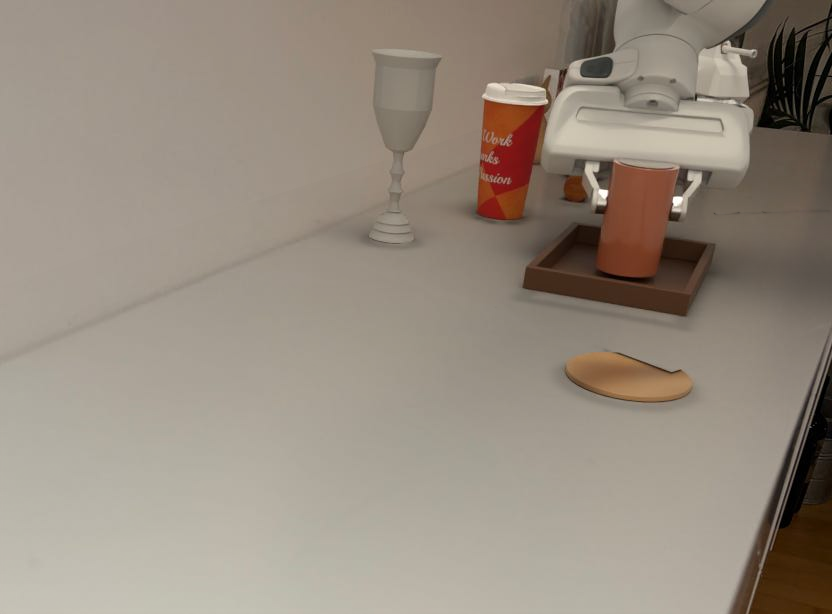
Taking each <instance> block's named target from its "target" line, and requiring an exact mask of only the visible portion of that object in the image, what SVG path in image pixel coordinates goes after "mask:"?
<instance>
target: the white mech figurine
mask: <svg viewBox="0 0 832 614" xmlns="http://www.w3.org/2000/svg"><path fill="white" fill-rule="evenodd" d="M757 55H758V50H757V49H745V48H739V47H734V46H732V43H731V41H730V40H728V41H726V42H724V43H722V44H720V45H718V46H716V47H713V48H710V49H706V48H704V49H703V50H702V51H701V52H700V53H699V57H698V59H699V65H698V75H697V84H696V92H695V94H696V95H708V96H714V97H719V98H728V97H732V98H737V99H740V100H741V103H743V104H744V103H745V101H746V100H747V99H748V98H750V87H749V79H748V66H746V65H745V64H743V63H742V60H741V56H745V57H749V58H750V59H755V58H756V57H757Z"/></svg>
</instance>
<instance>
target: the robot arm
mask: <svg viewBox="0 0 832 614" xmlns="http://www.w3.org/2000/svg"><path fill="white" fill-rule="evenodd" d="M776 2H777V0H617V3H616V8H615V15H614V23H613V38H614V42H615V45H614V46H615V47H614V49H613V51H612V52H610V53H606V54H602V55H599V56H598V55H597V56H593V57H588V58H582V59H578V60H574V61H572V62H571V63H570V64H569V66H568V69H567V71H566V74H565V77H564V81H563V85H562V90H560V92H559V93H558V95H557V96H556V98H555V99H554V102H553V104H552V107H551V111H550V114H549V117H548V120H547V124H546V128H545V132H544V137H543V143H542V149H541V155H540V165H541V167H542V169H543V170H544V171H545V173H547V174H552V175H563V176H571V175H573V176H583V178H582V185H583V187H584V189H585V191H586V193H587V197H588V198H589V200H590V204H589V214H596V215H603V214H604V213H605V210H606V205H607V196H608V189H603V188H601V187H600V185H599V182H598V179H605V180H606V179H607V180H610V175H611V170H612V164H613V160H614V159H616V158H633V159H644V160H655V161H665V162H670V163H675V164H677V165H679V166H680V171H679V175H678V180H677V185H676V186H682V195H681V196H677V195H676V196H675V195H674V199H673V203H672V208H671V213H670V217H669V222H678V223H683V222H684V220H685V218H686V216H687V211H688V206H689V204H690V203H691V202H692V201H693V200H694V198H695V197H696V196H697V194H698V192H699V189H700V188H701V189H702V188H703V189H712V190H713V189H714V190H724V191H732V190H734V189H735V188H737V187H738V186H739V185H740V184H741V183H742V182H743V180H744V178H745V176H746V175H747V171H748V169H749V166H750V161H751V160H750V157H751V145H750V143H751V142H750V136H751V135H752V133H753V130H754V120H755V119H754V118H755V115H754V114H755V113H754V111H753V109H752V108H751V107H750V106H748V104H745V103H744V102H743V103H741V100H740V99H737V98H732V97H728V98H719V97H714V96H708V95H696V94H695V92H696V84H697V75H698V65H699V59H698V57H699V53H700V52H701V51H702V50H703V49H704V48H706V49H710V48H713V47H716V46H718V45H720V44H722V43H724V42H726V41H728V40H729V41H730V40H732V39H734V38H736V37H738V36H740V35H742V34H744V33H745V32H748V31H749V30H750V29H752V28H753V27H755V26H756V25H757V24H758V23H760V22H761V21H762V20H763V19H764V18H765V17H766V16H767V15H768V14H769V13H770V11H771V10H772V9H773V7H774V5H775V3H776Z"/></svg>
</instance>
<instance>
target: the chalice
mask: <svg viewBox="0 0 832 614" xmlns="http://www.w3.org/2000/svg"><path fill="white" fill-rule="evenodd" d="M370 51H371V55H372V57H373V60H374V64H375V68H374V80H373V81H374V82H373V83H374V84H373V95H372V96H373V97H372V100H373V101H372V106H373V110H374V116H375V120H376V124H377V127H378V129H379V132H380V135H381V138H382V141H383V144H384V146H385V148H386V149H388V150H389V151H391V152H392V156H393V162H392V166H391V169H390V170H389V171H388V173H389V174H390V176H391V183H390V186H389V187H388V188H387V192H388V194H389V200H390V202H389V205H388V208H387V209H386V211H385V212H381V213H380V214H379V215H378V216H377V217H376V221H375V222H374V224H373V225H372V230H371V231H370V233H368V236H369V238H370V239H372V240H375V241H377V242H378V241H379V242H381V243H390V244H405V243H410V242H413V241H415V236H414V234H413V232H412V230H413V228H412V226H411V224H410V223H411V222H410V219H409V218H408V216H407V215H406V214H404V213H402V210H401V209H400V199H401V196H402V194H403V193H405V191H404V189H403V188H402V182H401V181H402V179H403V176H404V175H405V173H406V172H405V170H404V165H403V159H404V156H405V153H407V152H410V151H412V150H413V149H414V147H415V146H416V144H417V142H418V140H419V138H420V137H421V135H422V133H423V132H424V130H425V127H426V125H427V123H428V121H429V118H430V115H431V114H432V112H433V111H432V110H433V105H434V104H433V103H434V92H435V85H436V83H435V82H436V73H437V72H436V71H437V69H438V66H439V64H440V62H441V60H442V59H443V55H441V54H438V53H433V52H427V51H420V50H411V49H396V48H375V49H371V50H370Z"/></svg>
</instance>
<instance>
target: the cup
mask: <svg viewBox="0 0 832 614" xmlns="http://www.w3.org/2000/svg"><path fill="white" fill-rule="evenodd" d="M679 171H680V166H679V165H677V164H675V163H670V162H665V161H655V160H644V159H633V158H616V159H614V160H613V164H612V170H611V175H610V179H609V182H608V187H607V190H608V196H607V205H606V210H605V213H604V214H602V219H601V225H600V226H601V231H600V236H599V242H598V247H597V253H596V258H595V264H594V265H595V267H596V268H597V269H599V270H601V271H603V272H606V273H609V274H613V275H618V276H624V277H650V276H654V275H656V274H657V273H658V269H659V264H660V259H661V255H662V250H663V245H664V241H665V236H667V230H668V228H669V227H668V226H669V222H670V221H669V217H670V213H671V208H672V203H673V199H674V196H675V195H676V194H675V193H676V189H677V186H678V185H677V180H678V175H679Z"/></svg>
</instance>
